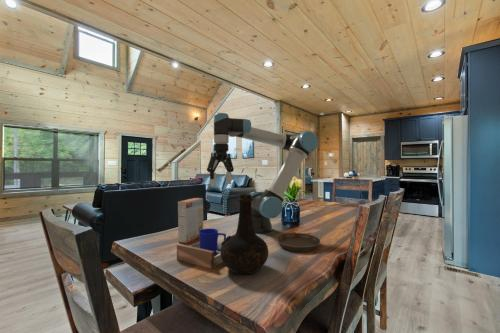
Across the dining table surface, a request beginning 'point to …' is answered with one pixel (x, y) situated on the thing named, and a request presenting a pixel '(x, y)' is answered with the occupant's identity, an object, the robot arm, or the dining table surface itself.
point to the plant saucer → (298, 241)
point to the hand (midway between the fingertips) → (221, 184)
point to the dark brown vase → (244, 243)
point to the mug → (209, 239)
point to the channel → (198, 255)
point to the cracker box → (190, 219)
